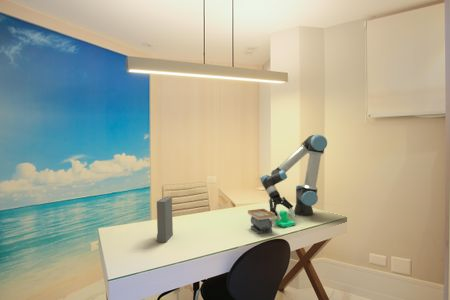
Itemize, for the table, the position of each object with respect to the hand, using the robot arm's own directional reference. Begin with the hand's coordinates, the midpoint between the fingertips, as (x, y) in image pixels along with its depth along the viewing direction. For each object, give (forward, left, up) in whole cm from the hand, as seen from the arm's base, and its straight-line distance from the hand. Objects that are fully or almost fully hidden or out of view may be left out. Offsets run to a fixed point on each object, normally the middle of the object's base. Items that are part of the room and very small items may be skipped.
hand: (287, 218), depth 193 cm
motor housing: (+21, +1, -6) cm, 22 cm away
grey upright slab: (+84, -8, -6) cm, 85 cm away
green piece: (0, -2, -6) cm, 6 cm away
